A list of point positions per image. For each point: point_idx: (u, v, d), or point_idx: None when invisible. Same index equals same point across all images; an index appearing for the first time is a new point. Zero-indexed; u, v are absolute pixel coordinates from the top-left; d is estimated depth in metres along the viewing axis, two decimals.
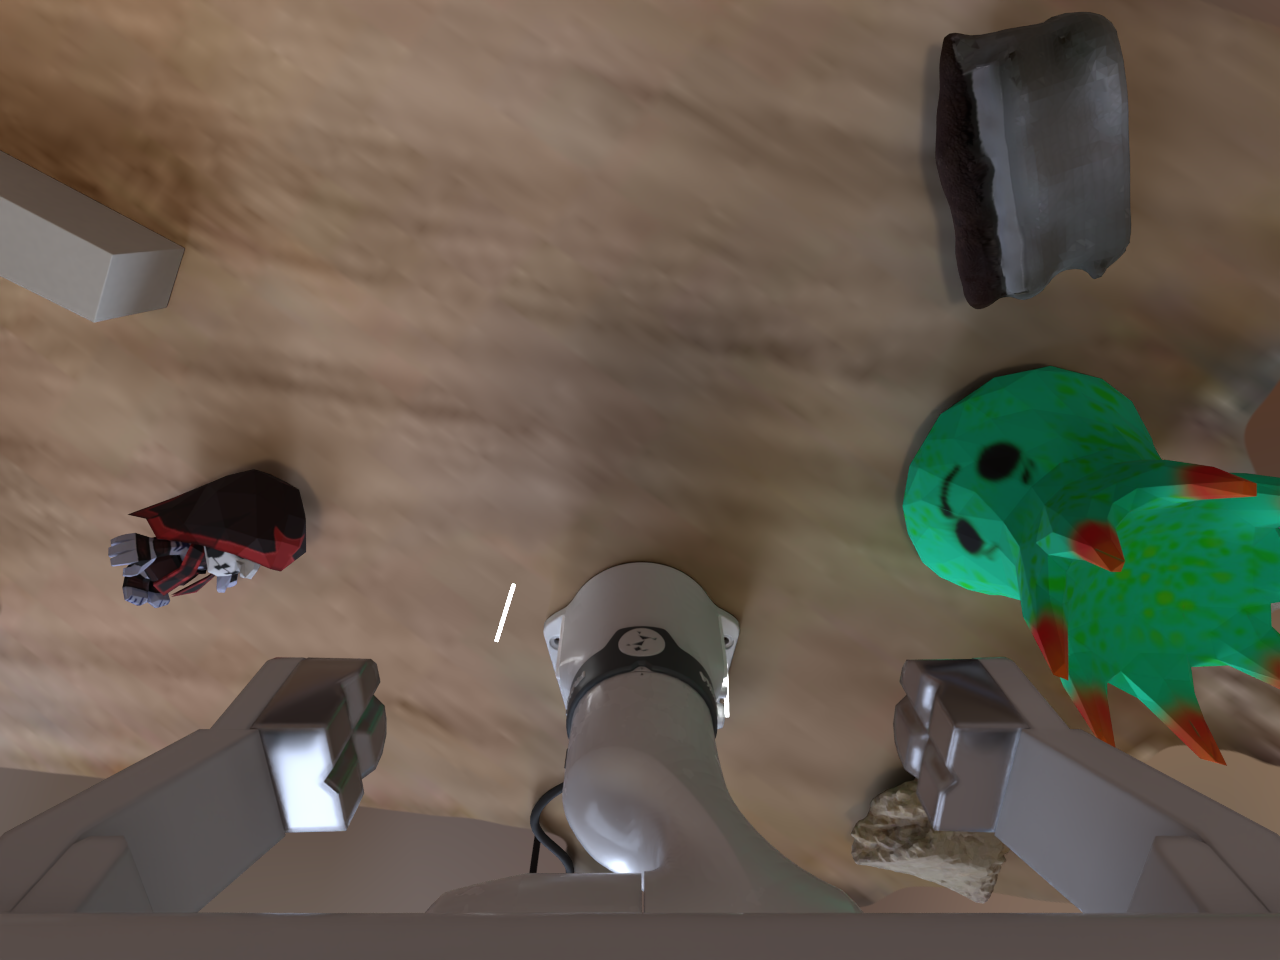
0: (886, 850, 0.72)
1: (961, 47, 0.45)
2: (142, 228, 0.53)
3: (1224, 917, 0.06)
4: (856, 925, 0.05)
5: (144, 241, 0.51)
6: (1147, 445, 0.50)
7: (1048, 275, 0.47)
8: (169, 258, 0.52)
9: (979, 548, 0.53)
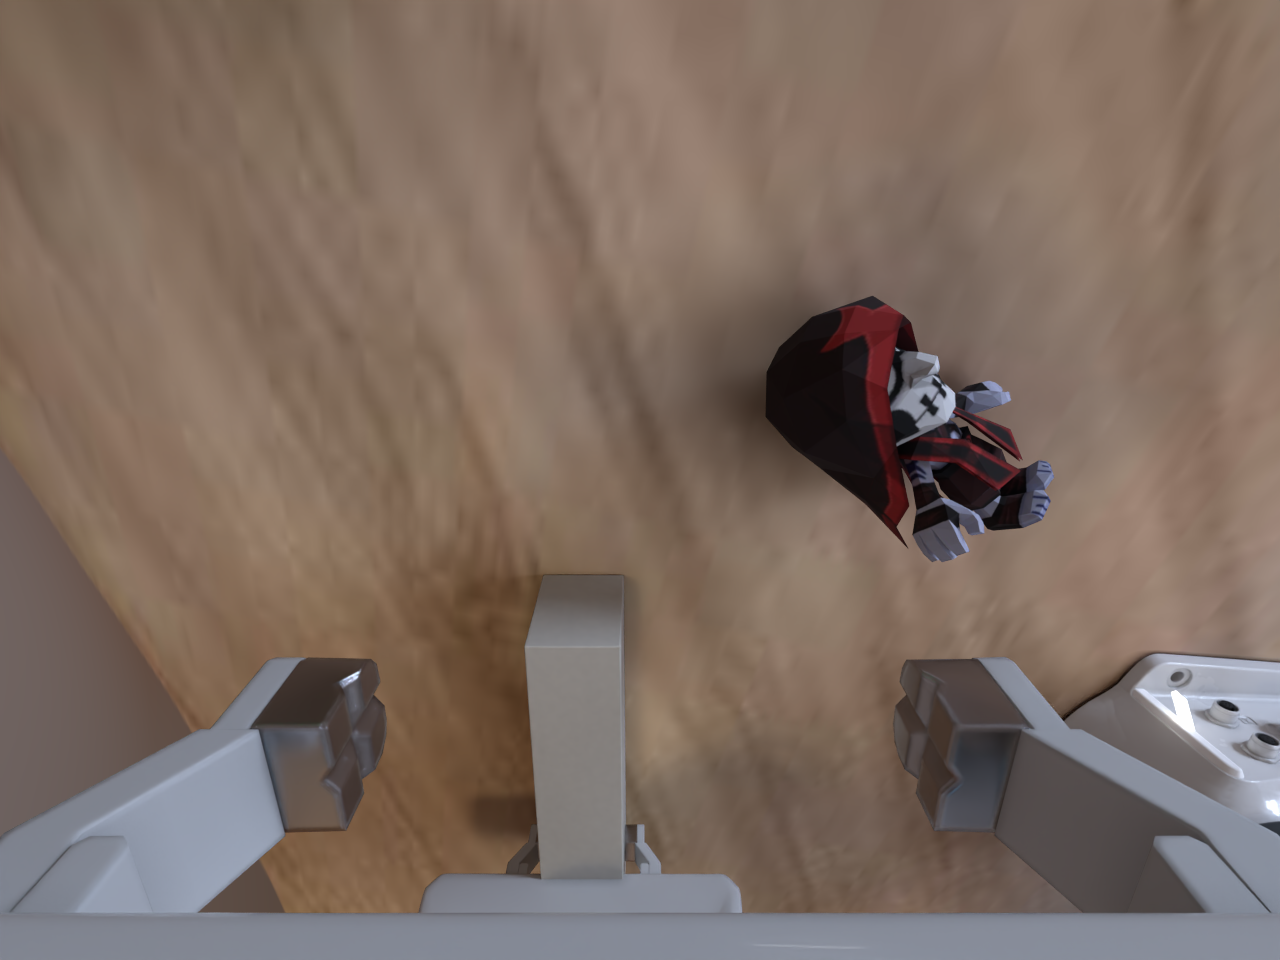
0: None
1: None
2: None
3: (1224, 917, 0.06)
4: (856, 925, 0.05)
5: None
6: None
7: None
8: (552, 587, 0.43)
9: None
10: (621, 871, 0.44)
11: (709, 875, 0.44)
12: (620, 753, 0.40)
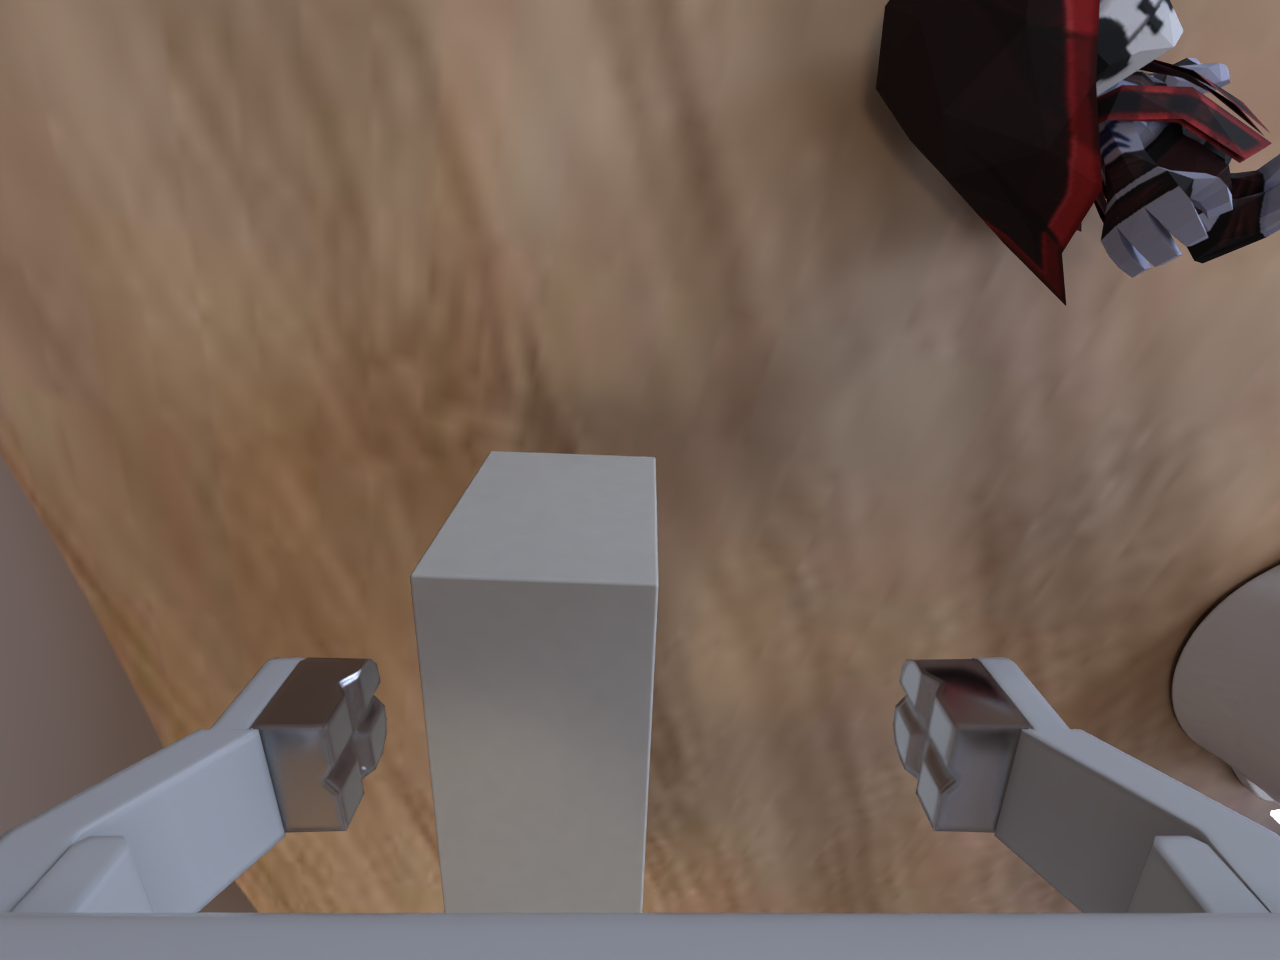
0: None
1: None
2: None
3: (1224, 917, 0.06)
4: (856, 925, 0.05)
5: None
6: None
7: None
8: (504, 469, 0.20)
9: None
10: None
11: None
12: (642, 842, 0.17)
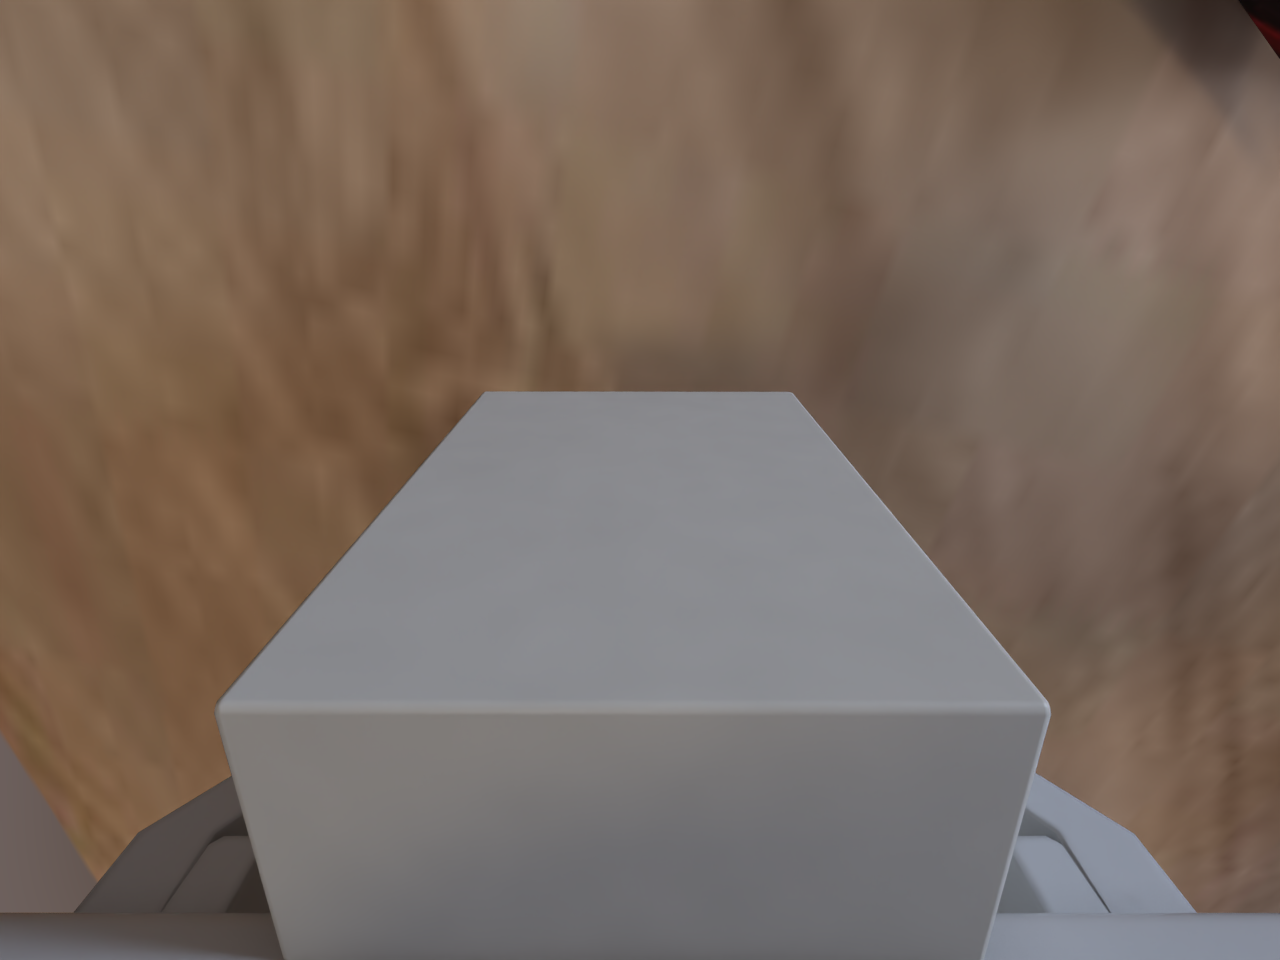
0: None
1: None
2: None
3: (1224, 917, 0.06)
4: None
5: None
6: None
7: None
8: (511, 417, 0.10)
9: None
10: None
11: None
12: None
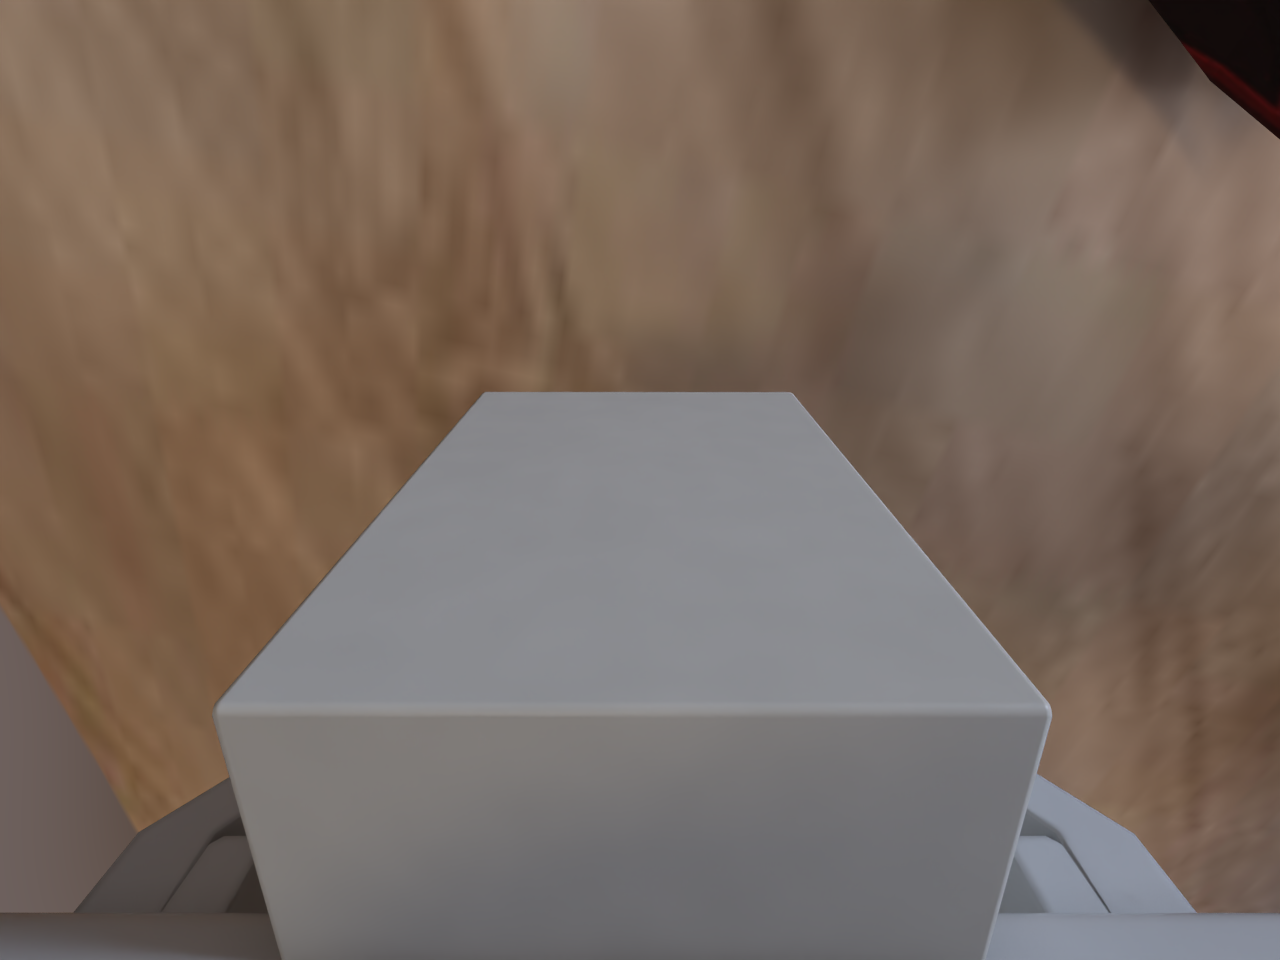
0: None
1: None
2: None
3: (1224, 917, 0.06)
4: None
5: None
6: None
7: None
8: (511, 417, 0.10)
9: None
10: None
11: None
12: None
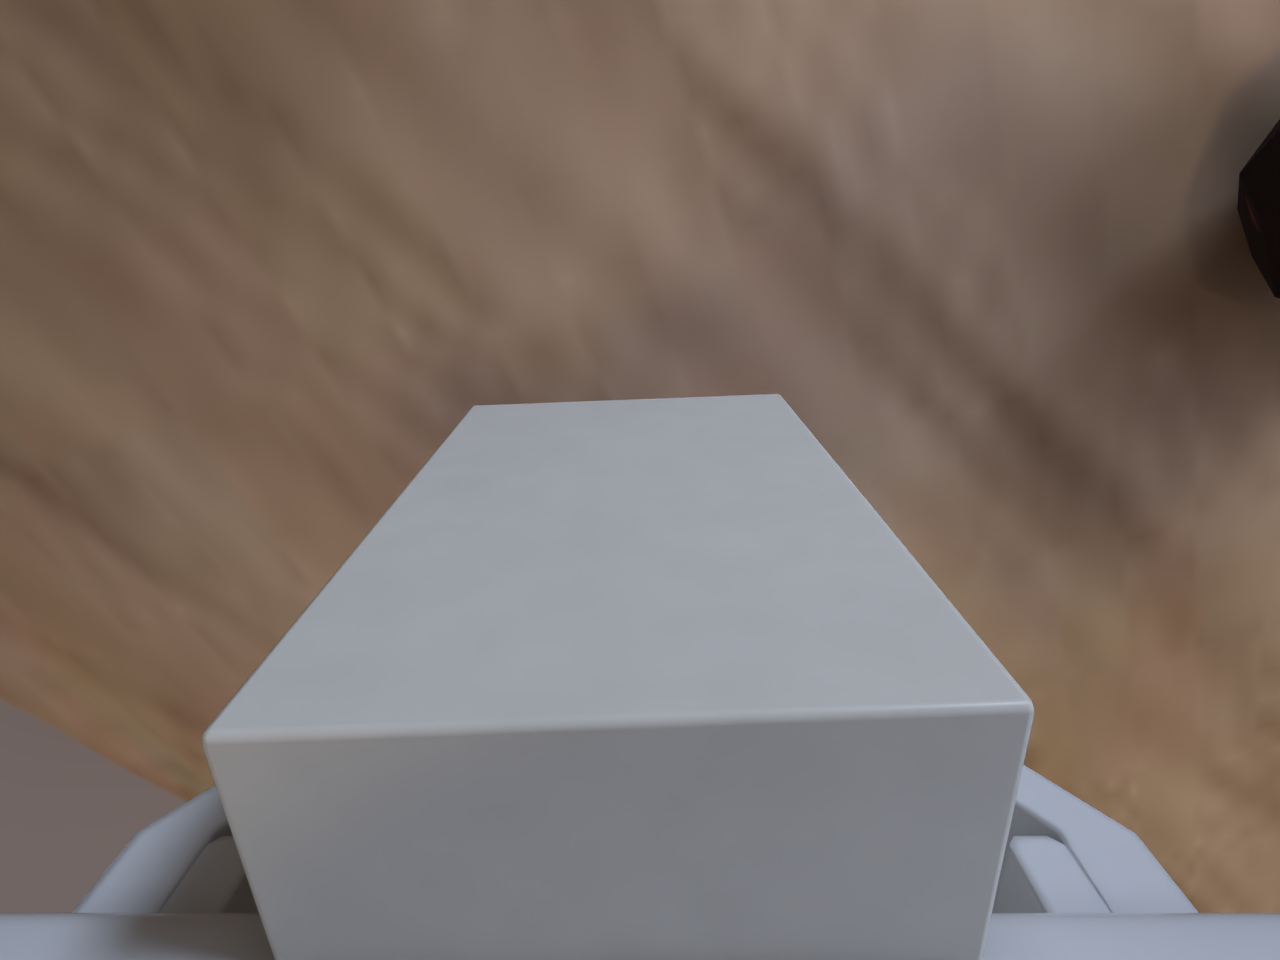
0: None
1: None
2: None
3: (1224, 917, 0.06)
4: None
5: None
6: None
7: None
8: (499, 430, 0.10)
9: None
10: None
11: None
12: None
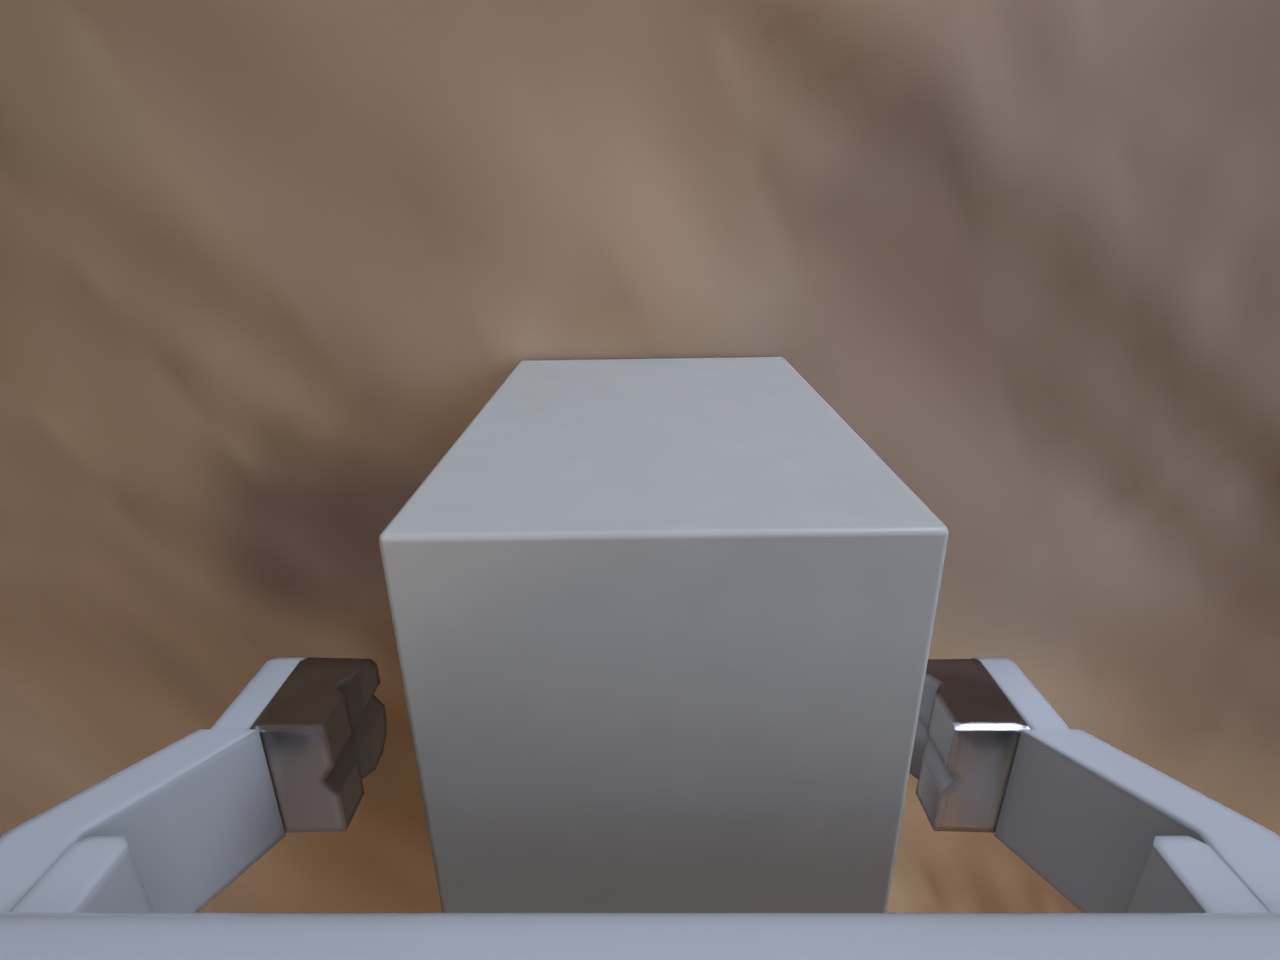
0: None
1: None
2: None
3: (1224, 917, 0.06)
4: (856, 925, 0.05)
5: None
6: None
7: None
8: (547, 377, 0.12)
9: None
10: None
11: None
12: None
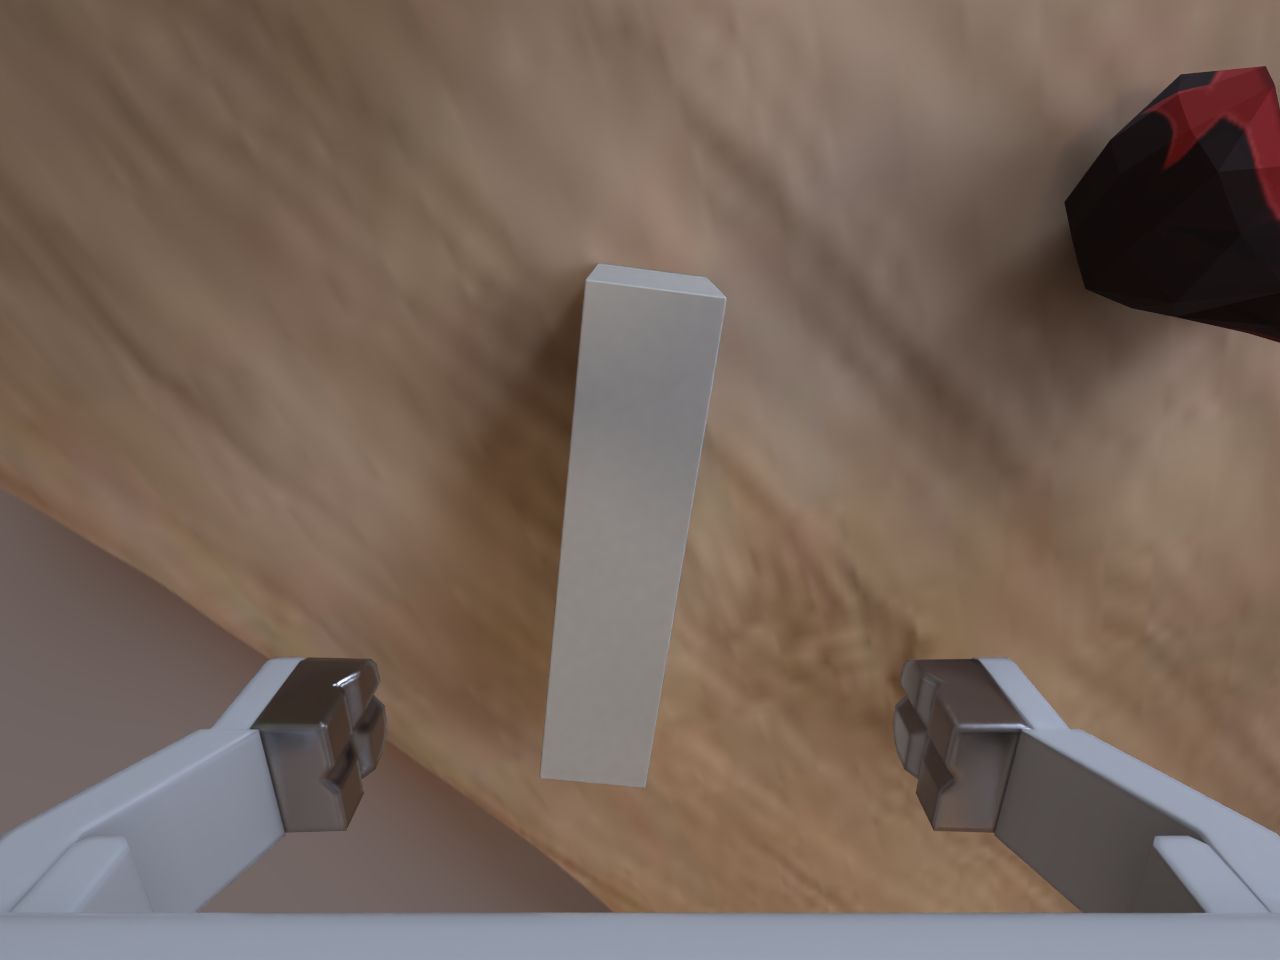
0: None
1: None
2: None
3: (1224, 917, 0.06)
4: (856, 925, 0.05)
5: None
6: None
7: None
8: (612, 268, 0.31)
9: None
10: (662, 675, 0.31)
11: None
12: (694, 483, 0.28)
